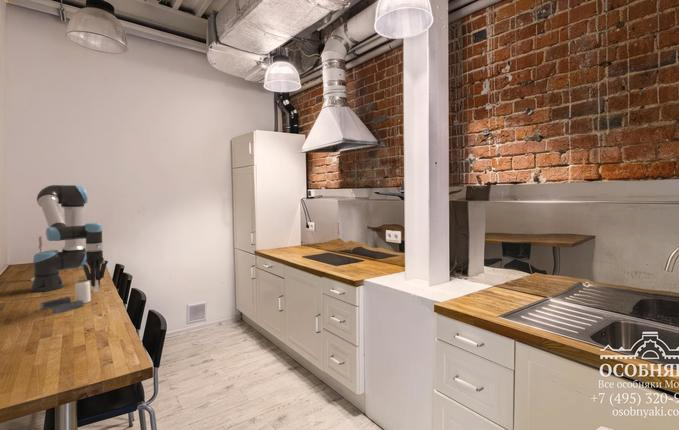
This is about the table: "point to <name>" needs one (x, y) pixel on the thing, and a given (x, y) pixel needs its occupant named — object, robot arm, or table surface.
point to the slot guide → (61, 305)
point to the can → (83, 291)
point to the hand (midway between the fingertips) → (95, 291)
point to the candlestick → (40, 249)
